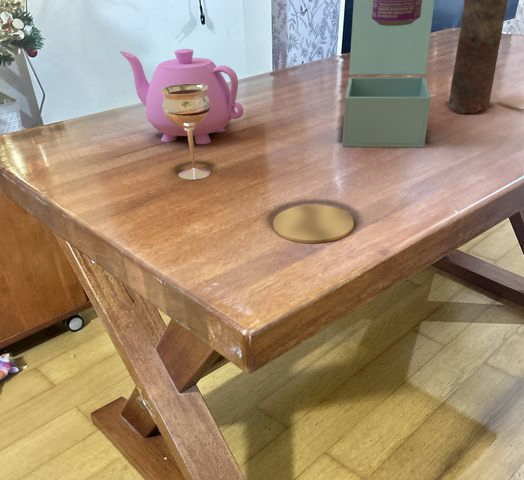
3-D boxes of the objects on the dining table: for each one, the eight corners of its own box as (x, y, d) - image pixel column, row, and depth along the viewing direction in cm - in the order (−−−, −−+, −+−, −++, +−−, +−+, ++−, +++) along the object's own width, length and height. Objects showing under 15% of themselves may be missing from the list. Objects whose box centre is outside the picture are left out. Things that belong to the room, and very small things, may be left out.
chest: (424, 147, 88) (431, 97, 83) (342, 146, 90) (344, 97, 85) (419, 122, 99) (425, 77, 94) (346, 122, 101) (349, 77, 96)
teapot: (114, 144, 96) (96, 57, 88) (154, 119, 107) (142, 41, 99) (228, 152, 90) (221, 60, 81) (259, 125, 101) (255, 42, 93)
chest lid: (437, -28, 88) (434, -22, 92) (355, -25, 90) (355, -19, 94) (426, 74, 94) (423, 76, 97) (349, 74, 96) (349, 76, 100)
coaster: (331, 202, 72) (331, 200, 72) (368, 233, 65) (368, 230, 64) (261, 216, 70) (261, 213, 69) (291, 249, 62) (291, 246, 62)
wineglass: (170, 168, 85) (158, 85, 77) (213, 163, 86) (205, 81, 78) (174, 184, 80) (162, 96, 72) (220, 178, 81) (212, 92, 73)
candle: (441, 105, 107) (460, -16, 95) (477, 103, 108) (500, -19, 95) (456, 116, 101) (478, -13, 89) (494, 113, 102) (521, -15, 89)
